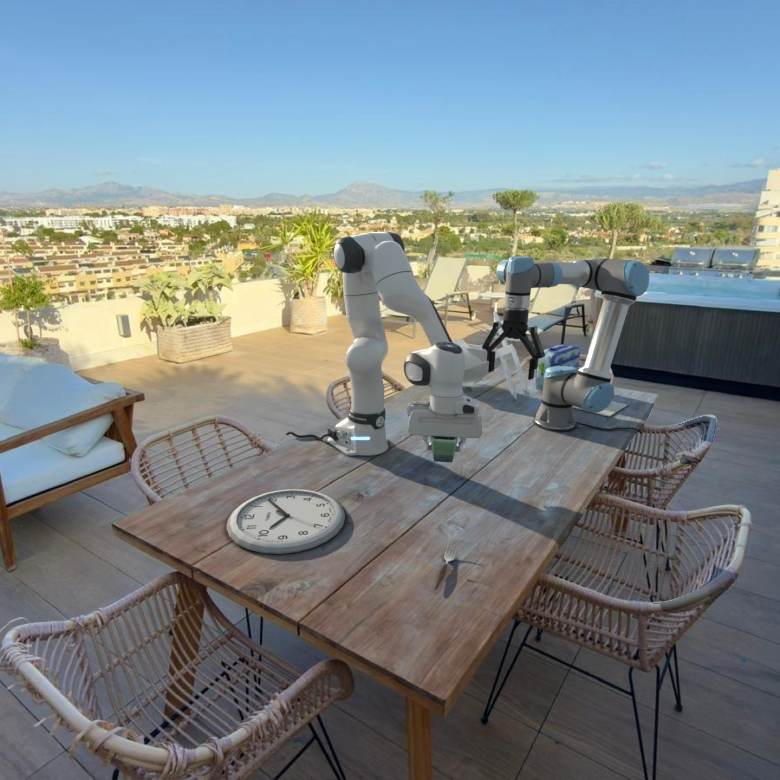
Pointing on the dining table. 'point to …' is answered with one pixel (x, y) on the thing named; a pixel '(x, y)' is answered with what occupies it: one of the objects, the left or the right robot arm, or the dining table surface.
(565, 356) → the lunch box
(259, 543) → the wall clock
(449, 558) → the fork
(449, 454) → the planter
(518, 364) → the white plastic object
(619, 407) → the invitation card
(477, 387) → the dining table surface
